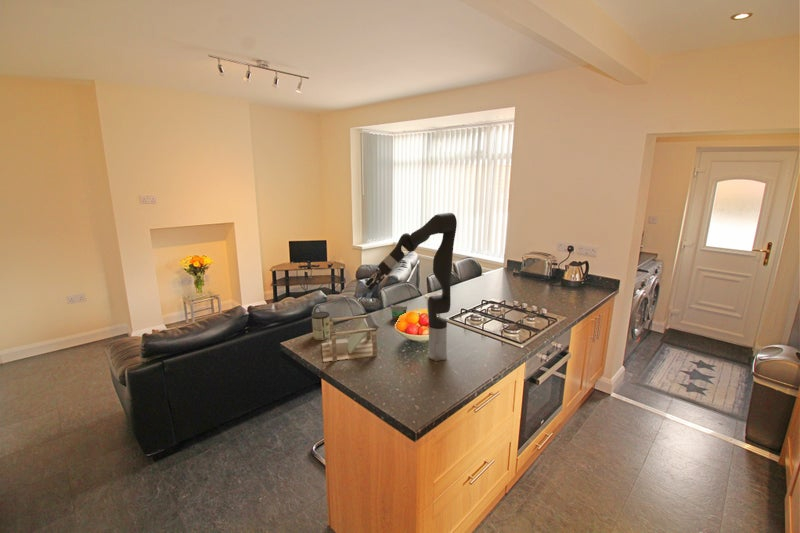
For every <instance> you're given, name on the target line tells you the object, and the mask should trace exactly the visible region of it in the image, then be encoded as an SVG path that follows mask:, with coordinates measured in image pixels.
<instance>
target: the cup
mask: <svg viewBox="0 0 800 533" xmlns="http://www.w3.org/2000/svg"><path fill="white" fill-rule="evenodd" d="M437 295H442V293H440V292H429V293H426V294H424V298H425V300H426V307H427V308H426V309H427V311H428V299H429V297H430V296H437ZM437 316H438V317H440V318H441V314H437Z"/></svg>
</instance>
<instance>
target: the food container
mask: <svg viewBox="0 0 800 533" xmlns="http://www.w3.org/2000/svg"><path fill="white" fill-rule="evenodd" d="M389 309H390V313H391V320H392V319H393V320H392V321H394V322H398V321H397V320H398V318H399V316H400V315H402V314H404V313H406V314H407V310H408V306H407V305H405V306H402V305H393V303H391V304H390V305H389Z"/></svg>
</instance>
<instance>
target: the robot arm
mask: <svg viewBox="0 0 800 533" xmlns="http://www.w3.org/2000/svg"><path fill="white" fill-rule="evenodd" d="M457 222H458V221H457V216H456V215H455V214H454V213H452V212H442V213H437V214H435V215H434V216H432V217H431V218H430V219H429V220H428V221H427V222H426V223H425V224H424V225H423V226H422V227H419V228H418V229H416V230H415V231H413V232H412V233H411V234H410V233H407V232H406V233H403V234H402V235H401V236H400V238H399V239H398V242H397V244H396V245H395V247H394V248H393V250H391V252H389V254H388V255H386V256H385V258H383V260H382V261H381V262H380V263H378V265H377V268H376V269H375V271H373V272H372V274H371V275H369V278H368V280H366V282H365V284H364V285H365V286H367V289H368V290H369V291H372V289H374V288H375V287H376V286H379V284H380V283H382V281H383V280H384V279H385V278H386V277H387V276H389V275H390V274H391V273H392V272H393V270H394V269H395V268H396V267H397V265H399V263H400V262H401V261H402V260H403V259H404V258H405V256H406V255H405V253H404V251H403V250H402V247H403V248H404V249H406V251H408V252H410V253H413V252H414V251H415V250H416V249H417V248H418V247H419V245H421V244H422V243H425V242H426V241H428V239H429V238H430V237H431V236H434V235H438V234H442V240H441V243H440V245H439V246H438V249H437V250H436V252H435V254H434V257H433V262H432V263H433V264H432V273H433V275H434V276H435V279H436V280H437V282H438V283H439V285H440V287H441V294H442V295H437V296H430V297H429V299H428V310H427V317H428V358H429V359H430V360H433V361H434V362H439V361H445V360H447V352H448V351H447V346H448V345H447V343H448V339H447V338H448V337H447V336H448V335H447V332H448V321H447V320H446V319H445V318H443V317H441V316H440V317H437V314H440V315H441V314H446V313H447V314H448V313H449V312H450V310H451V305H452V304H451V302H452V301H451V283H452V272H453V271H452V270H453V255H454V244H455V238H456V232H457V226H458V224H457ZM385 276H386V277H385Z"/></svg>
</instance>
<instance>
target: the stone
mask: <svg viewBox="0 0 800 533" xmlns="http://www.w3.org/2000/svg"><path fill="white" fill-rule="evenodd" d="M347 340H348V338H340V339H336V351H337V352H342V351H348V341H347ZM328 343H329V352H330V353H332V340H328Z"/></svg>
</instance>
